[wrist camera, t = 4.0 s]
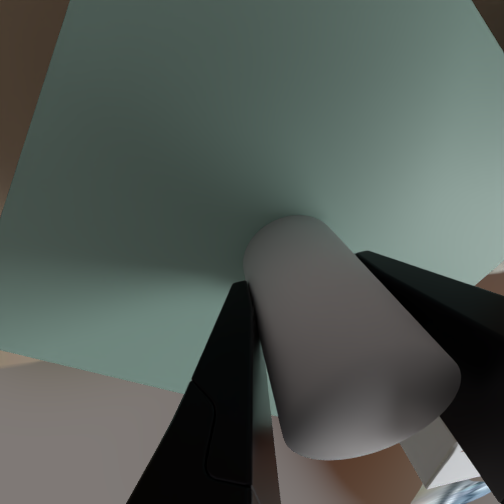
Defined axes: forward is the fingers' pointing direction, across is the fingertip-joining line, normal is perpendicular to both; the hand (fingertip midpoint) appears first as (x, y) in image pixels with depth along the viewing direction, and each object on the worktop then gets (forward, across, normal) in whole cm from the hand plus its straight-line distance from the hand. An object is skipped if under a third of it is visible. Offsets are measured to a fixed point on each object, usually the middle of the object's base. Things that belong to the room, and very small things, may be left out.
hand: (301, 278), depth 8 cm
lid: (+2, 0, 0) cm, 2 cm away
